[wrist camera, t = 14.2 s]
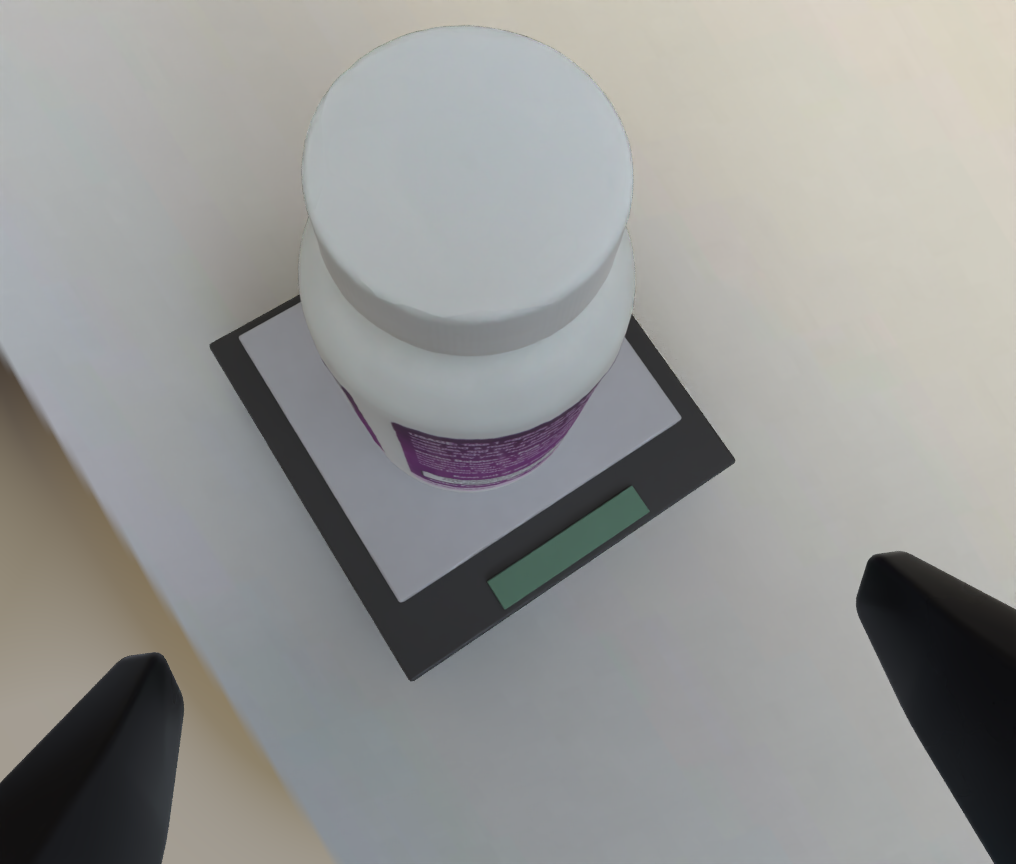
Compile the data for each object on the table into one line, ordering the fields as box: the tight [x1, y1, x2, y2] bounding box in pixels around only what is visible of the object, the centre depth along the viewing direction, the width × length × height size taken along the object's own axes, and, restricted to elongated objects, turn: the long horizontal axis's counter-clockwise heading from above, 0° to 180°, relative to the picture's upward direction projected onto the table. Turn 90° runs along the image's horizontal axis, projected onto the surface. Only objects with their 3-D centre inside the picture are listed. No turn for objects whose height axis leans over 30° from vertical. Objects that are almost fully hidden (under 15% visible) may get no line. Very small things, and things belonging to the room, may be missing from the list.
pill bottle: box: [298, 25, 635, 493], centre depth 13 cm, size 5×5×10 cm
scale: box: [210, 295, 735, 681], centre depth 19 cm, size 10×10×3 cm
